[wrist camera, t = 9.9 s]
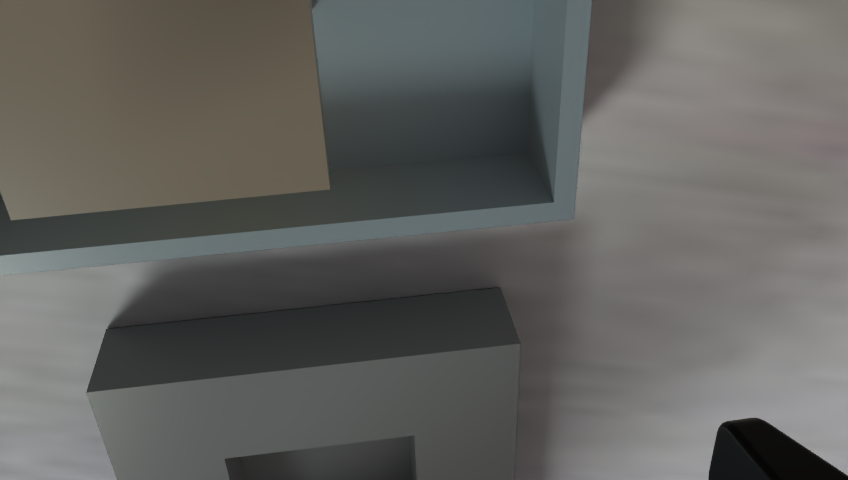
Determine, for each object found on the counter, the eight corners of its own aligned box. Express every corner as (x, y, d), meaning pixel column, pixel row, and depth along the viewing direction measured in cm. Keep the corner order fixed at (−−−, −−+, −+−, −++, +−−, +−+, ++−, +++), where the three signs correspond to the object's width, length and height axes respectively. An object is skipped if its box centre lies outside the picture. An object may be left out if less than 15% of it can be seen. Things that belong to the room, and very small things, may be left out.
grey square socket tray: (184, 574, 28) (175, 642, 26) (106, 329, 22) (86, 392, 20) (493, 532, 29) (509, 595, 27) (500, 287, 23) (520, 343, 21)
